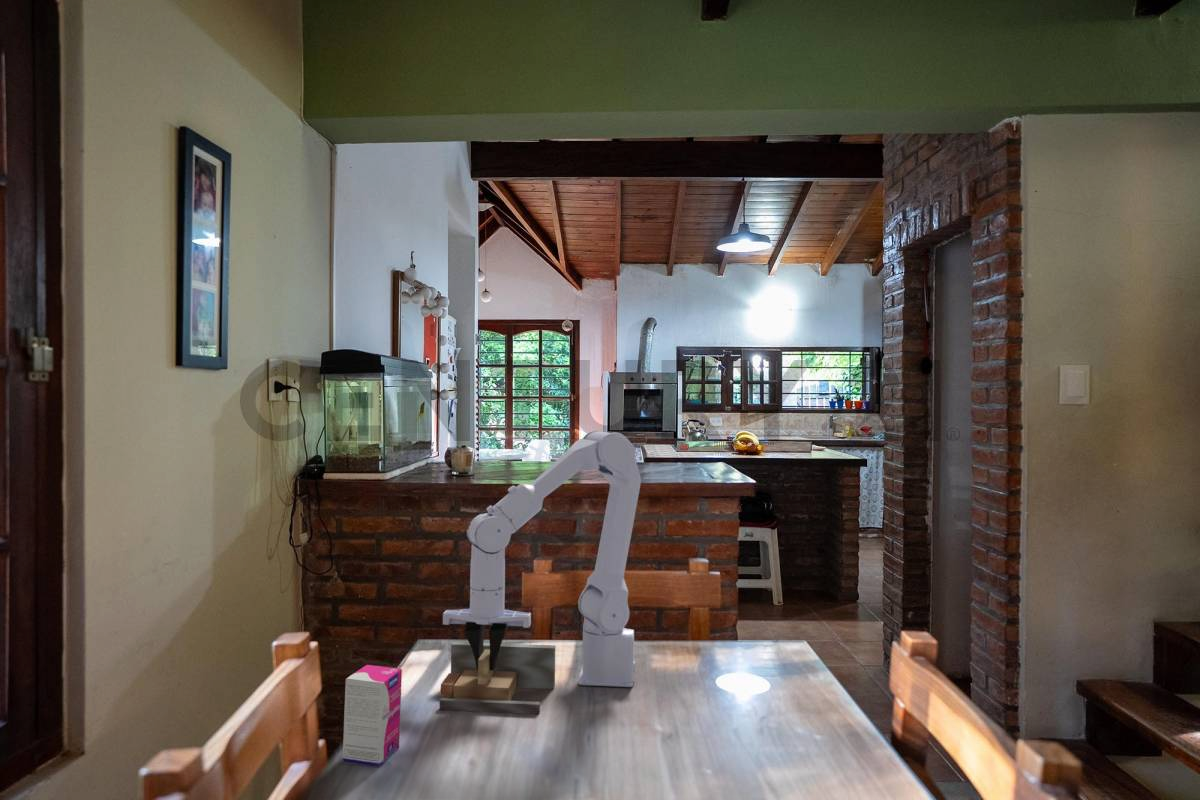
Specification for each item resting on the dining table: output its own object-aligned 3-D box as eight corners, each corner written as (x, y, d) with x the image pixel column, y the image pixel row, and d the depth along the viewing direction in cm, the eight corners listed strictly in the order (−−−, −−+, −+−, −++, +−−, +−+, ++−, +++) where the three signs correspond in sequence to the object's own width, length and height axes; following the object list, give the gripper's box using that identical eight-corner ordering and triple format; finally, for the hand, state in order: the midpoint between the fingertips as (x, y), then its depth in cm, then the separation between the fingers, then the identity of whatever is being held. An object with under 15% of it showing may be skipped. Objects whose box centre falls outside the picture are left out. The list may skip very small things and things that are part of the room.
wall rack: (554, 685, 125) (555, 645, 125) (545, 714, 114) (545, 670, 114) (451, 681, 126) (451, 641, 126) (431, 709, 115) (432, 665, 115)
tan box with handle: (516, 689, 123) (516, 648, 123) (508, 706, 116) (508, 663, 116) (464, 687, 124) (464, 646, 124) (453, 704, 117) (453, 661, 117)
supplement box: (381, 768, 96) (382, 682, 96) (341, 763, 98) (342, 678, 98) (401, 747, 102) (402, 667, 102) (363, 743, 103) (364, 663, 103)
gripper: (438, 591, 117) (436, 675, 117) (526, 594, 116) (525, 678, 116) (450, 580, 124) (448, 659, 124) (533, 583, 123) (532, 663, 123)
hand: (486, 668), depth 120 cm, fingers closed on tan box with handle
